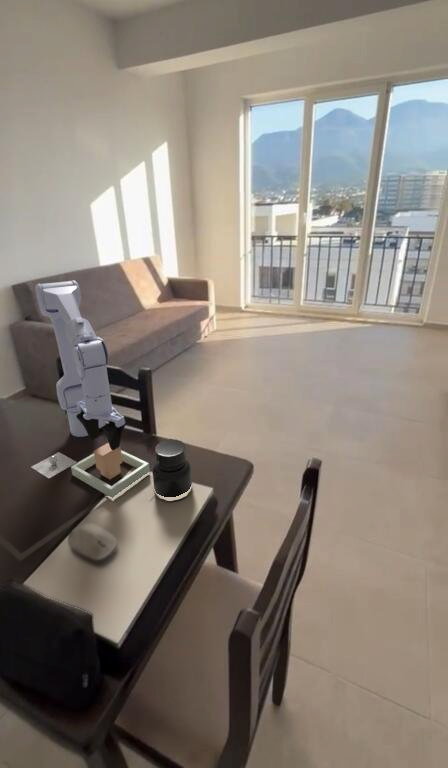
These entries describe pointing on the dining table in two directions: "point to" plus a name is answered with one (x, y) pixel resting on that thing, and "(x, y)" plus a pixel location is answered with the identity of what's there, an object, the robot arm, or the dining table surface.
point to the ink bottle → (171, 469)
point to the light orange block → (108, 461)
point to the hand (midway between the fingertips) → (104, 442)
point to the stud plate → (53, 465)
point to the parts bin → (104, 487)
